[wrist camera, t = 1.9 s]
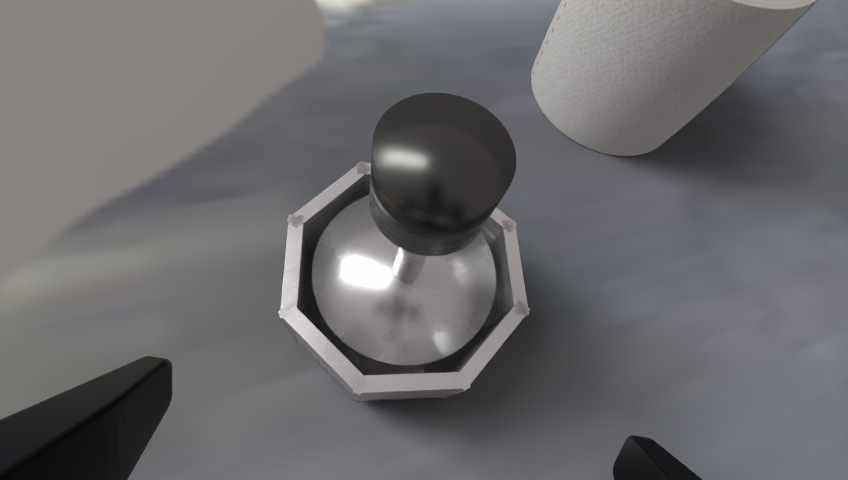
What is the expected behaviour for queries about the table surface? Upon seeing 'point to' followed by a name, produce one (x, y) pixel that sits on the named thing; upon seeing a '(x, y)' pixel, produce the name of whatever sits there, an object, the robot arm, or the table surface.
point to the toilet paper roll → (648, 64)
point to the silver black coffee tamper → (417, 234)
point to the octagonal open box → (365, 374)
